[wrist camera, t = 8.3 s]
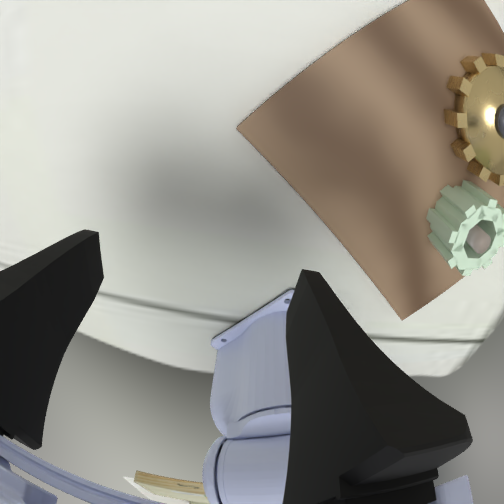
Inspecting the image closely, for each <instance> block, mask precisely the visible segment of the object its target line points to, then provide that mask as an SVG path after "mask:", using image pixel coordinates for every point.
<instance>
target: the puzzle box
mask: <svg viewBox="0 0 504 504" xmlns="http://www.w3.org/2000/svg"><path fill="white" fill-rule="evenodd" d="M134 482H135V483H137V484H138V485H140V486H142V487H143V488H145V489H147V490H148V491H150V492H151V493H153V494H155V495H160V496H164V497H170V498H175V499H180V500H186V501H193V502H200V503H208V504H210V503H209V501H208V499H207V497H206V495H205V491H204V487H203V483H202V482H194V481H187V480H180V479H175V478H169V477H164V476H159V475H155V474H150V473H146V472H141V471H136V474H135V478H134Z"/></svg>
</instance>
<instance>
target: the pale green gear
mask: <svg viewBox="0 0 504 504" xmlns="http://www.w3.org/2000/svg"><path fill="white" fill-rule="evenodd" d="M440 193H441V195H442V197H441V198H440V199H439V200H438V201H437V202H436V206H435V209H432V208H429V210H428V214H427V218H426V219H427V220H428V221H429V222H430V223H431V224H430V228H431V230H432V233H430V234H429V235H428V238H429V240H430V242H431V243H432V245H433V246H434V247H435V248H436V250H437V251H438V252H439V253H440V255H441V256H442V257H443V259H444V260H445V261H446V262H447V264H448V265H449V266H450V268H451V269H452V268H453V267H454V266H455V267H456V268H457V270H458V271H459V272H460V274H461V275H462V276H470V274H471V272H472V270H478V269H479V268H480V267H483V268H484V269H486V268H487V267H488V266H489V265H490V264H491V263H492V260H491V258H492V257H493V256H494V255H496V254H497V251H498V249H499V247H504V208H503V207H501V206H500V205H499V204H497V200H496V199H495V198H493V197H492V196H491V195H489V194H488V193H487V192H485V191H484V190H482V189H481V188H480V187H478V186H477V185H475V184H474V183H472V182H470V181H466V180H463V183H462V187H461V186H455V187H454V188H452V187H451V186H449V185H447V186H445V187H444V188H443V189H442V190H441V191H440ZM476 224H477V225H478V226H479V227H480V228H481V229H483V230H484V231H485V232H486V233H487V234H488V235H489V236H490V239H491V242H490V245H489V247H488V249H487V250H486V251H485V252H484V253H482V254H478V253H477V252H476V251H475V250H474V249H473V248H472V247H471V246H470V245H469V244H468V243H467V242H466V238H467V235H468V232H469V230H470V229H471V228H472V227H474V226H475V225H476Z"/></svg>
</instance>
